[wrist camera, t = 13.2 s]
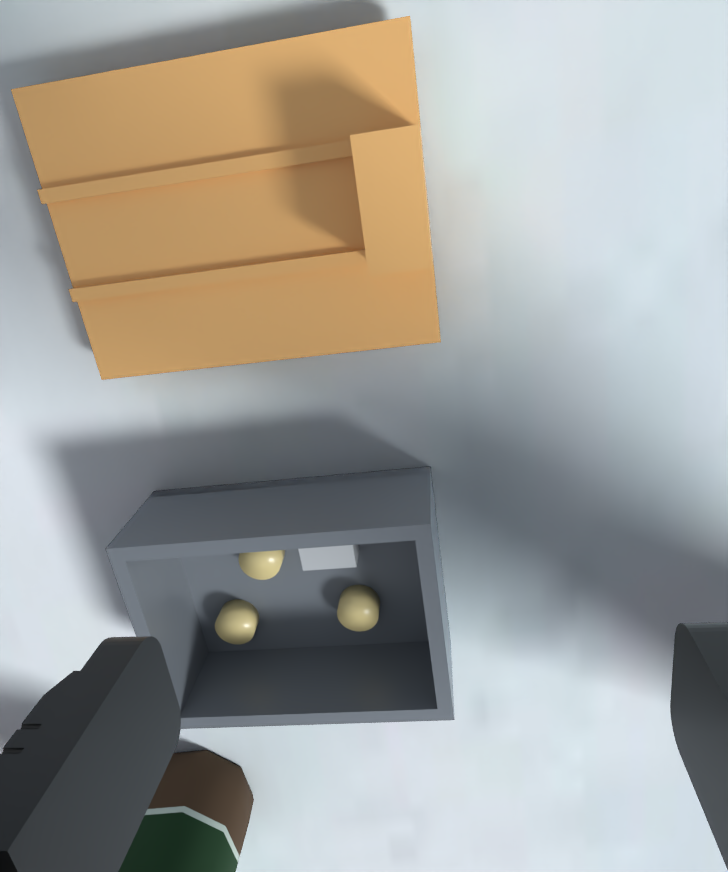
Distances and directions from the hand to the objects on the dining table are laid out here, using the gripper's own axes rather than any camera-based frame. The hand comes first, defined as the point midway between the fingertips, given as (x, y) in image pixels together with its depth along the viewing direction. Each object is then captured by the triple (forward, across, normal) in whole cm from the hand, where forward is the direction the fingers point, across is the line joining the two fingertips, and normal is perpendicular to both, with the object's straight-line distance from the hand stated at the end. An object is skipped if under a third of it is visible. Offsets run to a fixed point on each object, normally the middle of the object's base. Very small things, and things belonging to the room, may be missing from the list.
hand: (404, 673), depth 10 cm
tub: (+24, +8, +14) cm, 28 cm away
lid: (+24, +8, -6) cm, 26 cm away
